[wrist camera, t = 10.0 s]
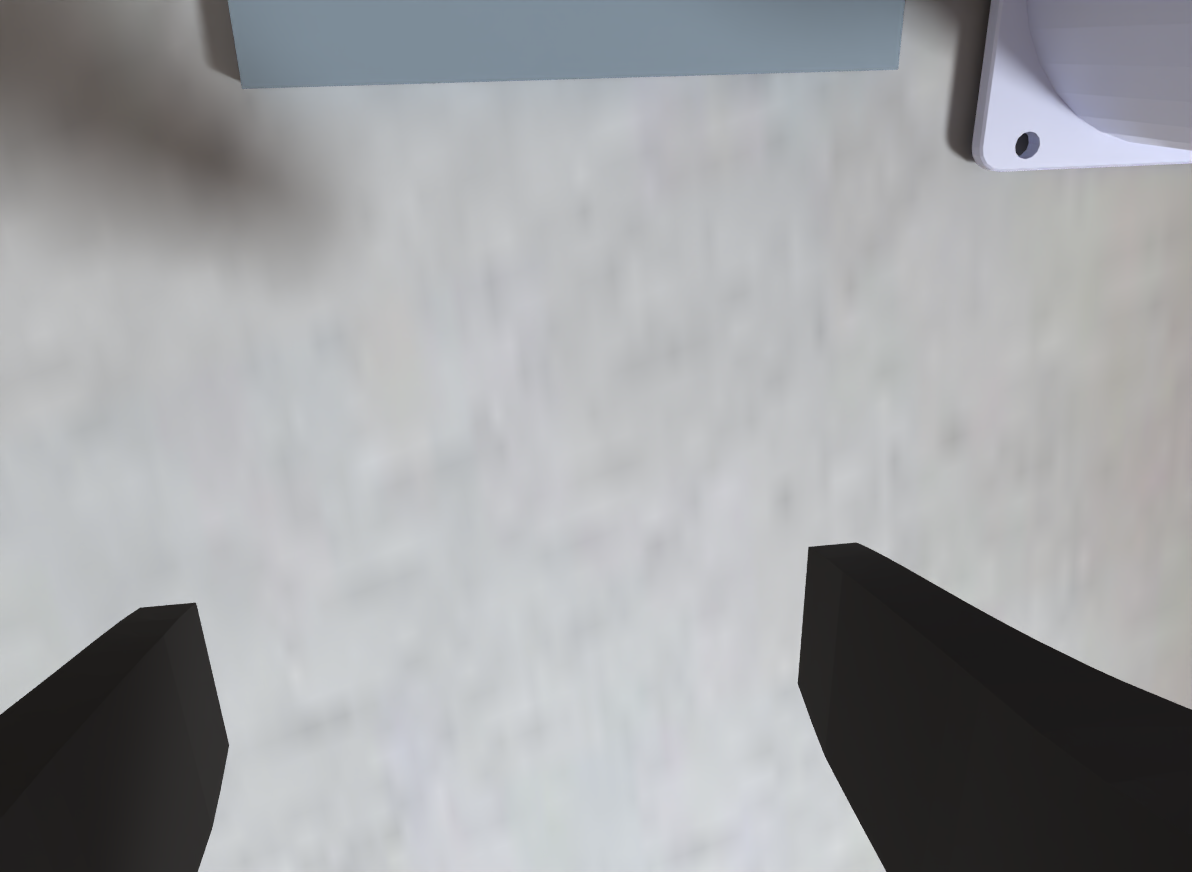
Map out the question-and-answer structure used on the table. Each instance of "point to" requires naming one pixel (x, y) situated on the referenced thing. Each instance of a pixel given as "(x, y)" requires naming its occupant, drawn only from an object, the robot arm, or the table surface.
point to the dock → (554, 39)
